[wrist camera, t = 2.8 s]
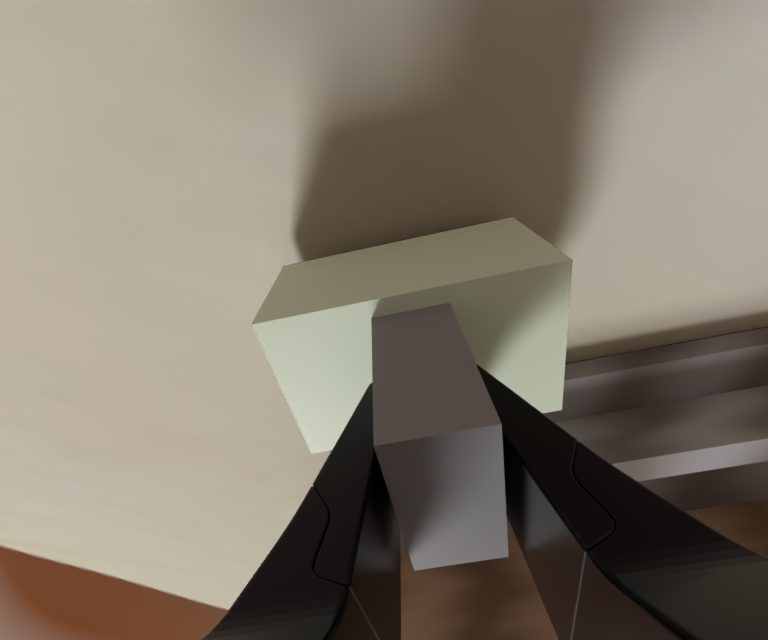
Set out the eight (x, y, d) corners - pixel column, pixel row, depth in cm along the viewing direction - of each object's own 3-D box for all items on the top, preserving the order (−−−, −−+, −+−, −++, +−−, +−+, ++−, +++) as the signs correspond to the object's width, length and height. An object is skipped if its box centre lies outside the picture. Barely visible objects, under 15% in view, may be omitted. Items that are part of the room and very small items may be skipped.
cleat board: (910, 301, 15) (1367, 459, 8) (788, 495, 22) (978, 668, 15) (321, 408, 17) (289, 614, 10) (381, 557, 24) (387, 737, 17)
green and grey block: (512, 217, 12) (715, 361, 5) (515, 338, 14) (651, 547, 7) (283, 265, 12) (177, 457, 5) (324, 374, 15) (287, 601, 8)
